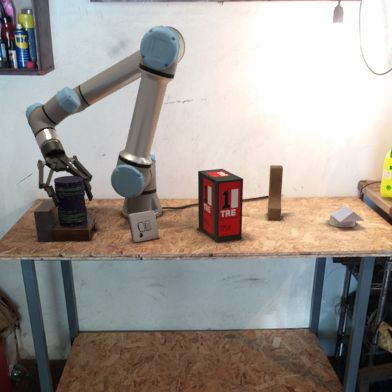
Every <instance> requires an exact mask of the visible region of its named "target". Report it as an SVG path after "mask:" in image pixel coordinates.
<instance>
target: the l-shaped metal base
mask: <svg viewBox="0 0 392 392" xmlns="http://www.w3.org/2000/svg"><path fill="white" fill-rule="evenodd" d="M33 218H34V224H35V230H36V237H37V238H36V239H37V242H90V241H91V231H96V230H97V218H96V217H87V220H88V224H86V225H84V226H80V227H71V228H70V227H62V226H60V224H59V222H60V221H59V217H58V207H55V204H54V202H53V200H51V199H47V200H45V199H44V200H43V201H42V202H41V203H39V205H38V206H37V207H36V208H35V209H34V210H33Z"/></svg>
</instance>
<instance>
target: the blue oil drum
mask: <svg viewBox="0 0 392 392" xmlns="http://www.w3.org/2000/svg"><path fill="white" fill-rule="evenodd" d="M83 181H84V180H83V177H80V176H73V175H63V176H58V177H55V178H54V179H53V183H54V184H53V185H54V191H55V193H56V195H57V198H58V200H59V205H58V217H59V221H60V222H59V224H60V226H62V227H70V228H71V227H80V226H84V225H86V224H88V220H87V218H88V210H87V205H86V197H85V196H86V192H85V187H84V182H83Z"/></svg>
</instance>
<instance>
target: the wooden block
mask: <svg viewBox="0 0 392 392" xmlns="http://www.w3.org/2000/svg"><path fill="white" fill-rule="evenodd" d="M283 175H284V168H283V165H281V164H277V165H275V164H274V165H273V164H271V165H269V176H268V177H269V179H268V195H269V196H268V195H267V196H268V200H267V202H268V203H267V219H268V221H281V219H282V192H283Z"/></svg>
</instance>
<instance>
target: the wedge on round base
mask: <svg viewBox="0 0 392 392" xmlns="http://www.w3.org/2000/svg"><path fill="white" fill-rule="evenodd" d="M364 221H365V219H364V218H362V217H361V216H360V215H358V213H357V212H355V211H354V210H353V209H351V208H349V207H348V206H347V205H346V204H345V205H343V206H341V207H340V208H338V209H337V210H335V211H332V212H330V215H329V224H330V225H331V226H333V227H336V228H351V227H355V226H356V222H364Z"/></svg>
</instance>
